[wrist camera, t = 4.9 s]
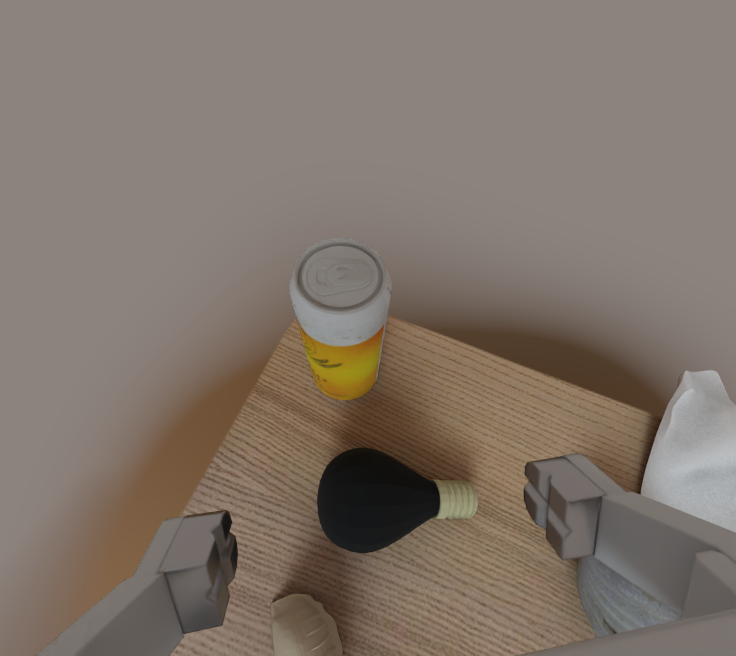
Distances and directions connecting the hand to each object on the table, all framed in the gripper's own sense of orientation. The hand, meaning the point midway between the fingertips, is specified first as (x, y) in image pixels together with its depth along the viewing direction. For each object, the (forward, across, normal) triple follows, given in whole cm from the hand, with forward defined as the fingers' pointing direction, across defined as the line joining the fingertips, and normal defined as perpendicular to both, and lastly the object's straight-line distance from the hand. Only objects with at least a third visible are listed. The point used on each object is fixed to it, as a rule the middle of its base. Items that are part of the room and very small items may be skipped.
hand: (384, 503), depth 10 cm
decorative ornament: (+9, +5, +20) cm, 23 cm away
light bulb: (+15, -2, +14) cm, 21 cm away
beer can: (+23, 0, +6) cm, 24 cm away
